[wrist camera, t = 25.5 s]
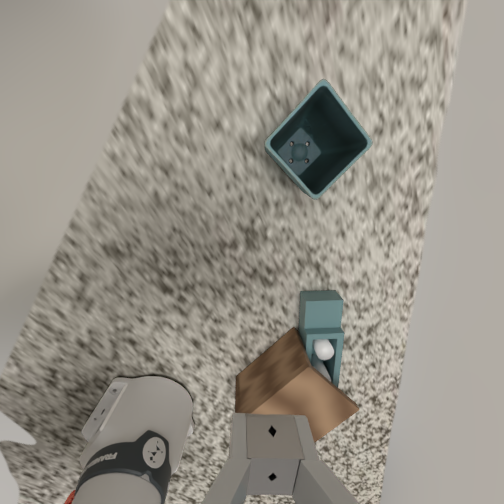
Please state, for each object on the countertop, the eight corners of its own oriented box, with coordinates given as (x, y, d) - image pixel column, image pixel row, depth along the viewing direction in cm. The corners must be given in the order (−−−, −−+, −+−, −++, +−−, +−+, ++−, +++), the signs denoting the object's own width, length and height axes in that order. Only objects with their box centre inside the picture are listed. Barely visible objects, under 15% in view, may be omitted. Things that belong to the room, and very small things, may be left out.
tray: (327, 370, 46) (338, 395, 40) (296, 371, 45) (304, 397, 40) (334, 290, 41) (349, 306, 35) (300, 291, 40) (309, 308, 35)
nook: (278, 408, 48) (287, 462, 39) (235, 376, 45) (234, 426, 36) (335, 363, 45) (359, 409, 36) (293, 326, 42) (308, 366, 33)
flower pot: (341, 152, 34) (375, 143, 26) (297, 197, 36) (315, 201, 27) (301, 103, 32) (324, 75, 24) (256, 153, 34) (262, 143, 25)
